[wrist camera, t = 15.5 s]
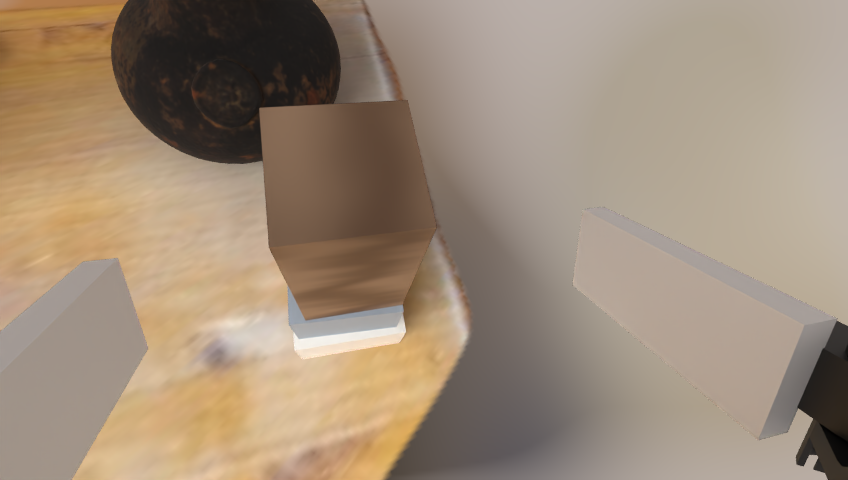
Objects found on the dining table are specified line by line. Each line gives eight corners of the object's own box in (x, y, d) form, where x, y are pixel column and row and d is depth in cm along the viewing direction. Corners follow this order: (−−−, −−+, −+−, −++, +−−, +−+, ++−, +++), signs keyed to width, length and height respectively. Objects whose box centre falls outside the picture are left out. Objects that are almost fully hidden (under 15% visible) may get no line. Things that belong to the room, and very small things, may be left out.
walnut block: (305, 320, 25) (269, 247, 14) (296, 231, 27) (259, 107, 16) (402, 305, 26) (437, 227, 16) (386, 220, 29) (407, 100, 18)
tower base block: (302, 359, 34) (294, 350, 29) (295, 267, 36) (286, 245, 32) (399, 343, 35) (406, 332, 31) (384, 256, 38) (389, 234, 34)
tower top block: (298, 339, 29) (288, 325, 25) (295, 248, 32) (285, 220, 27) (396, 327, 31) (403, 311, 26) (385, 240, 33) (390, 213, 29)
